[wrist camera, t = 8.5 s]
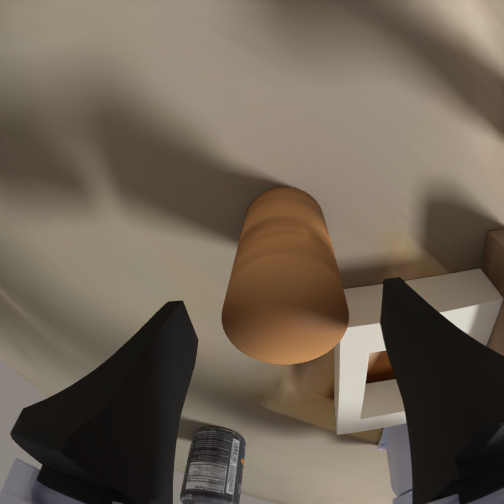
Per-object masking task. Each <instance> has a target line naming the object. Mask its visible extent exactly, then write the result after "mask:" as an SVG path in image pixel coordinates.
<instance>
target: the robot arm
mask: <svg viewBox="0 0 504 504" xmlns="http://www.w3.org/2000/svg"><path fill="white" fill-rule="evenodd" d="M380 326H381V330H382V335H383V340H384V344H385V348H386V351H387V354H388V357H389V360H390V363H391V366H392V369H393V372H394V375H395V378H396V381H397V384H398V387H399V391H400V394H401V397H402V401H403V405H404V410H405V416H406V422H407V423H406V424H401V425H396V426H391V427H386V428H384V429H383V432H382V435H381V438H380V441H379V444H378V449H380V450H381V449H386V452H387V458H388V465H389V472H390V479H391V486H392V489H393V491H394V493H395V494H396V495H397V498H394V499H393V504H504V356H503V355H501V354H499V353H497V352H496V351H494V350H492V349H490V348H488V347H487V346H485V345H483V344H482V343H480V342H478V341H477V340H475V339H474V338H472V337H471V336H469V335H468V334H467V333H465V332H464V331H462V330H461V329H459V328H458V327H457V326H455V325H454V324H453V323H452V322H450V321H449V320H448V319H447V318H445V317H444V316H443V315H442V314H440V313H439V312H438V311H437V310H436V309H435V308H433V307H432V306H431V305H430V304H429V303H428V302H427V301H425V300H424V299H423V298H422V297H421V296H420V295H419V294H418V293H417V292H415V291H414V290H413V289H412V288H411V287H410V286H409V285H408V284H407V283H406V282H405V281H403V280H402V279H401V278H400V277H397V278H390V279H383V293H382V306H381V317H380ZM197 346H198V338H197V335H196V333H195V330H194V328H193V325H192V323H191V320H190V318H189V315H188V313H187V310H186V308H185V305H184V302H183V301H170V302H167V303H166V304H165V305H164V306H163V307H162V308H161V309H160V310H159V311H158V312H157V313H156V314H155V315H154V316H153V317H152V318H151V319H150V320H149V321H148V322H147V323H146V324H145V325H144V326H143V327H142V328H141V329H140V330H139V331H138V332H137V333H136V334H135V335H134V336H133V337H132V338H131V339H130V340H129V341H128V342H127V343H125V344H124V345H123V346H122V347H121V348H120V349H119V350H118V351H117V352H116V353H115V354H114V355H112V356H111V357H110V358H109V359H108V360H107V361H105V362H104V363H103V364H101V365H100V366H99V367H98V368H96V369H95V370H94V371H92V372H91V373H90V374H88V375H87V376H85V377H84V378H82V379H80V380H79V381H77V382H76V383H74V384H73V385H71V386H70V387H68V388H66V389H64V390H63V391H61V392H59V393H57V394H55V395H53V396H51V397H49V398H47V399H45V400H43V401H40V402H38V403H36V404H33V405H31V406H29V407H26V408H24V409H23V410H22V412H21V414H20V416H19V417H18V419H17V421H16V423H15V425H14V427H13V429H12V431H11V433H10V434H11V437H12V439H13V440H14V441H15V442H16V443H17V444H18V445H19V446H20V447H21V448H22V449H23V450H25V451H26V452H27V453H28V454H30V455H31V456H32V457H34V458H35V459H36V460H37V461H38V462H40V463H41V464H42V465H43V466H42V468H41V470H39V469H37V468H36V467H34V466H32V465H30V464H28V463H26V462H24V461H22V460H20V459H18V458H16V459H15V461H14V463H13V465H12V467H11V469H10V471H9V474H8V476H7V479H6V481H5V483H4V486H3V488H2V491H1V493H0V504H173V472H174V458H175V449H176V440H177V433H178V427H179V421H180V416H181V412H182V408H183V405H184V401H185V398H186V394H187V391H188V387H189V384H190V380H191V376H192V373H193V369H194V366H195V361H196V354H197Z"/></svg>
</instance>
